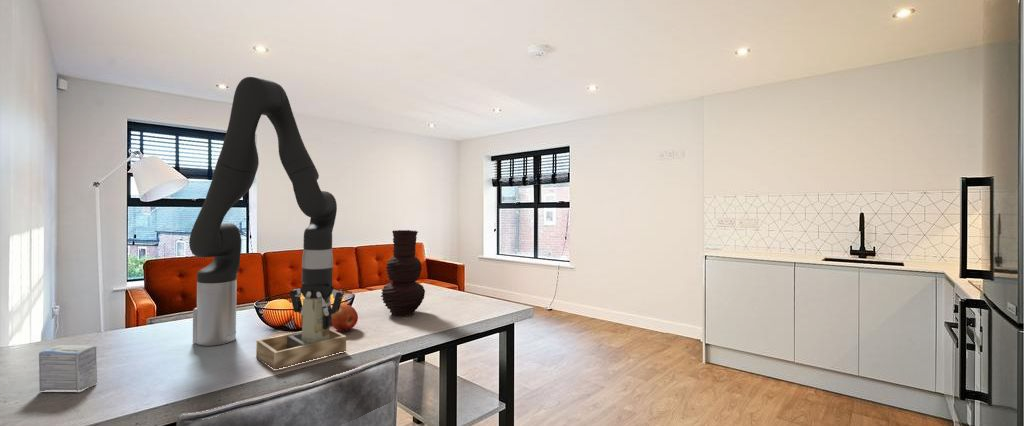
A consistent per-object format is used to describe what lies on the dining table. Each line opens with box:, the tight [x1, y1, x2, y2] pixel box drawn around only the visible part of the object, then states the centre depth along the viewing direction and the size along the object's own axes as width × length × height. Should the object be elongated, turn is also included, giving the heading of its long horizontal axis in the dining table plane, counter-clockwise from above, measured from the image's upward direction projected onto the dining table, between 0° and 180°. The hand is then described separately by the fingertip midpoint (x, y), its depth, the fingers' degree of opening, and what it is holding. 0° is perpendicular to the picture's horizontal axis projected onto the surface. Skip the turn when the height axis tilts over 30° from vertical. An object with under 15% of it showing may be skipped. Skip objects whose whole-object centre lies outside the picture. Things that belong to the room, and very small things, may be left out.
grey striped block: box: [38, 344, 98, 392], centre depth 91 cm, size 8×4×9 cm, turn 92°
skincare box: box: [301, 295, 332, 344], centre depth 116 cm, size 6×4×12 cm
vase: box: [380, 229, 426, 318], centre depth 156 cm, size 15×15×30 cm
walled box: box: [255, 328, 347, 369], centre depth 114 cm, size 18×12×4 cm, turn 139°
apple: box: [331, 304, 359, 332], centre depth 135 cm, size 8×8×8 cm
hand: (316, 327), depth 117 cm, fingers closed on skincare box, 5 cm apart
